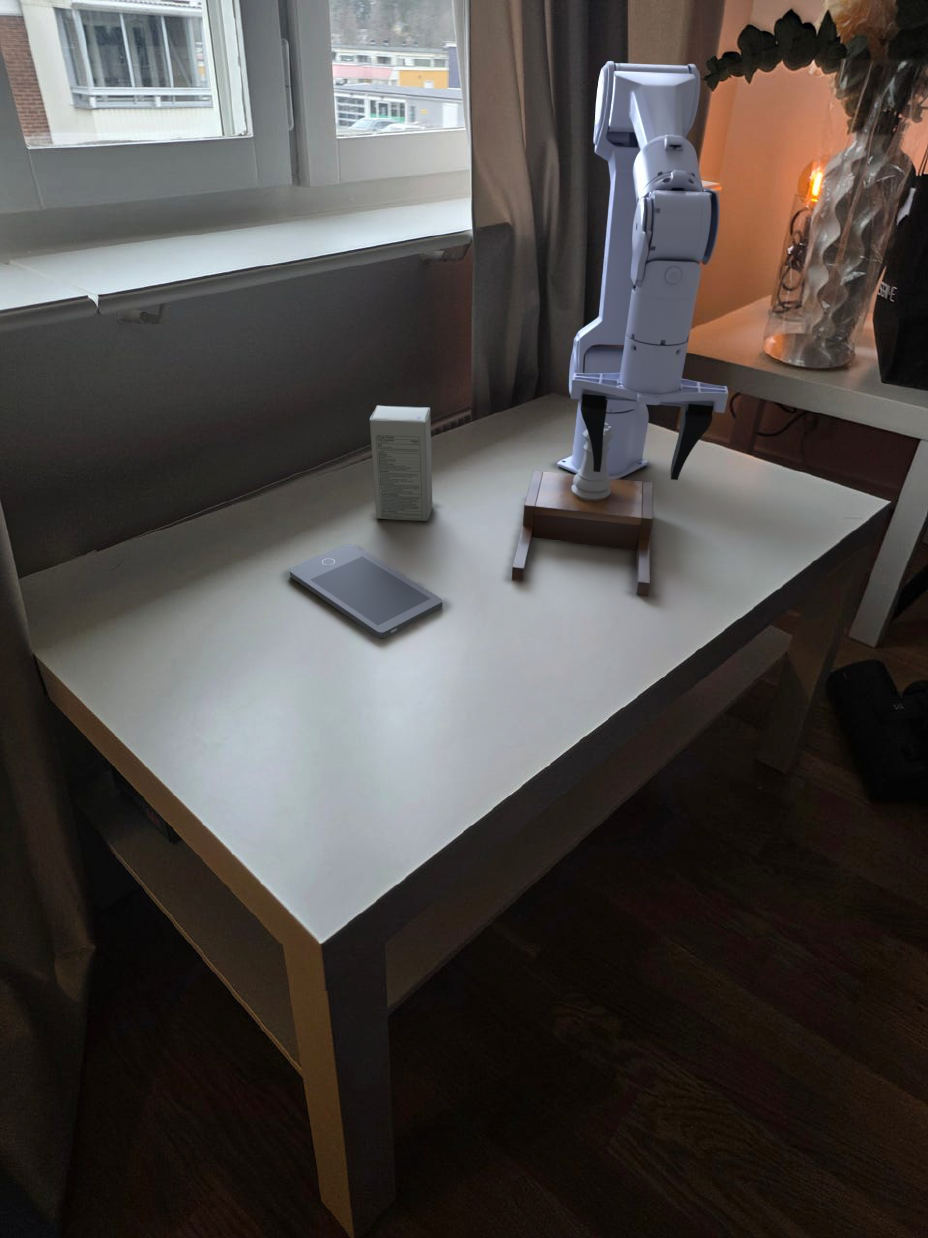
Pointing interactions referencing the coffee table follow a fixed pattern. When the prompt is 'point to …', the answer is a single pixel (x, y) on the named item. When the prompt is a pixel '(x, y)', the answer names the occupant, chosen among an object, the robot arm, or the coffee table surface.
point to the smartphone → (366, 590)
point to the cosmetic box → (402, 462)
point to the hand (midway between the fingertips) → (635, 471)
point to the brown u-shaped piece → (588, 519)
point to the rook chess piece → (586, 479)
